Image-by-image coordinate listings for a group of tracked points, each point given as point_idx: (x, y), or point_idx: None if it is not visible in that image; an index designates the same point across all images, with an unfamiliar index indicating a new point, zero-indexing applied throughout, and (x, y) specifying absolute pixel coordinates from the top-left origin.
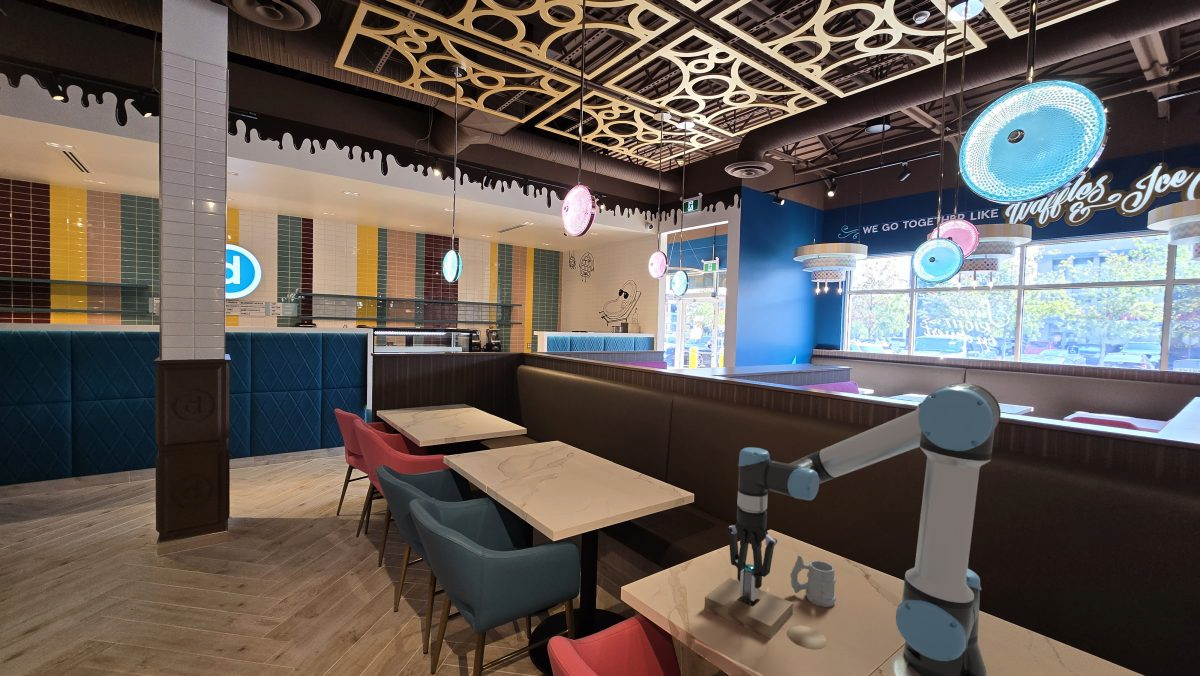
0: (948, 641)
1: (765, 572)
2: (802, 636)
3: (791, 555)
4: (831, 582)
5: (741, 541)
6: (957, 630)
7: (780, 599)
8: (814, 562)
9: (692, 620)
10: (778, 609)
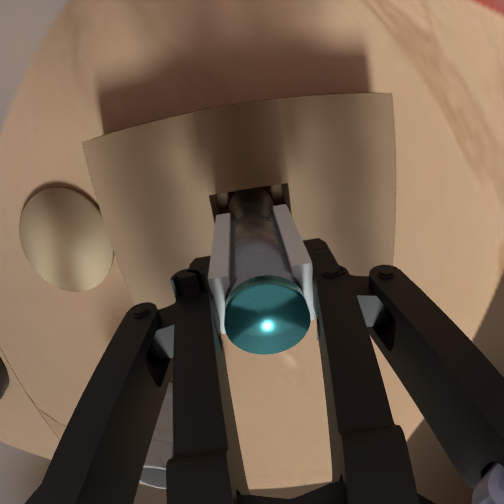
0: None
1: (123, 325)
2: (67, 236)
3: (319, 462)
4: None
5: (392, 470)
6: None
7: None
8: None
9: (352, 7)
10: (139, 262)
